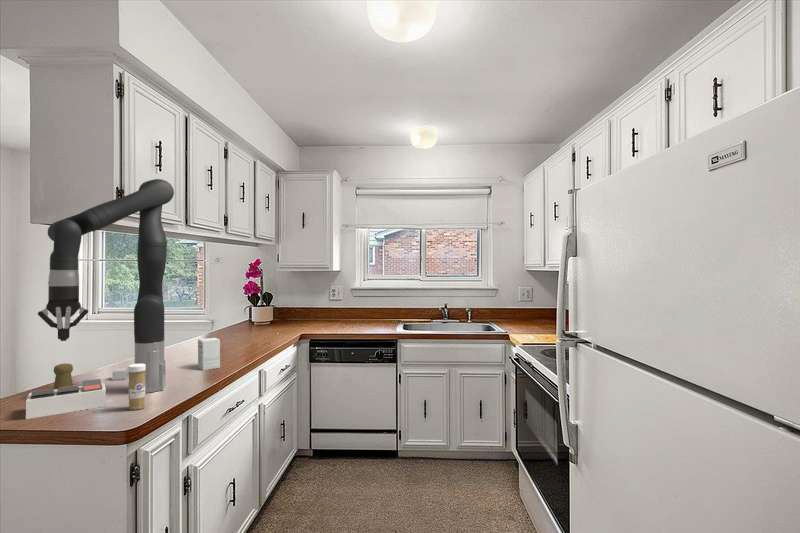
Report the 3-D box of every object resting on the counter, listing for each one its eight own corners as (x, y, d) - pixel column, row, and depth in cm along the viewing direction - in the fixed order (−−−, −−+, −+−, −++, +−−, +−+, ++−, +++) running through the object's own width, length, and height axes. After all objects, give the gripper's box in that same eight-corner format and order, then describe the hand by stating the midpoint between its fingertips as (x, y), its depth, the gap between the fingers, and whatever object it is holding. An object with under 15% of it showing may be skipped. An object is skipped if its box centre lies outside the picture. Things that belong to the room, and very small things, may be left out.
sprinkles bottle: (133, 411, 131) (133, 366, 131) (125, 409, 133) (125, 365, 133) (148, 407, 135) (148, 363, 135) (140, 405, 137) (140, 362, 137)
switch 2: (100, 382, 142) (100, 378, 142) (101, 391, 137) (101, 387, 136) (82, 384, 139) (82, 380, 139) (82, 394, 134) (82, 390, 133)
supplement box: (215, 365, 194) (215, 337, 194) (220, 368, 189) (220, 339, 189) (197, 367, 190) (197, 338, 190) (202, 370, 184) (202, 341, 184)
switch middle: (77, 390, 139) (77, 385, 139) (77, 389, 133) (77, 385, 133) (58, 393, 136) (58, 388, 136) (57, 392, 130) (57, 387, 130)
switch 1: (53, 393, 135) (53, 389, 135) (52, 393, 130) (52, 388, 130) (33, 396, 132) (33, 391, 132) (31, 396, 127) (31, 391, 127)
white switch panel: (104, 398, 144) (104, 383, 144) (105, 406, 136) (105, 389, 136) (29, 409, 133) (29, 392, 133) (25, 419, 125) (25, 401, 125)
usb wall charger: (116, 378, 172) (116, 368, 172) (136, 377, 173) (136, 367, 174) (112, 380, 168) (112, 370, 168) (132, 379, 170) (132, 369, 170)
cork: (78, 393, 150) (78, 362, 150) (65, 398, 144) (66, 365, 144) (60, 394, 150) (60, 362, 150) (47, 399, 144) (47, 366, 144)
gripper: (90, 284, 141) (89, 337, 141) (37, 284, 134) (37, 341, 134) (90, 284, 135) (89, 340, 135) (35, 285, 128) (34, 344, 127)
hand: (63, 340), depth 134 cm, fingers closed
